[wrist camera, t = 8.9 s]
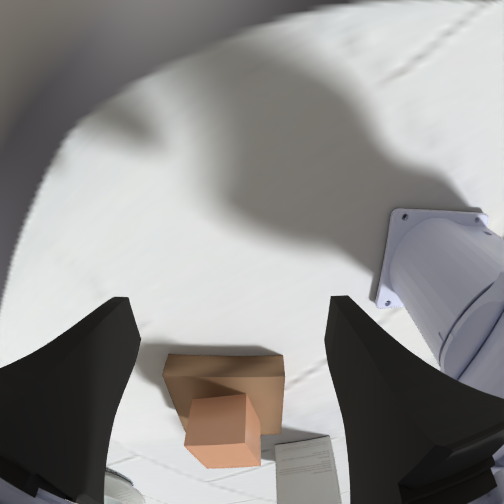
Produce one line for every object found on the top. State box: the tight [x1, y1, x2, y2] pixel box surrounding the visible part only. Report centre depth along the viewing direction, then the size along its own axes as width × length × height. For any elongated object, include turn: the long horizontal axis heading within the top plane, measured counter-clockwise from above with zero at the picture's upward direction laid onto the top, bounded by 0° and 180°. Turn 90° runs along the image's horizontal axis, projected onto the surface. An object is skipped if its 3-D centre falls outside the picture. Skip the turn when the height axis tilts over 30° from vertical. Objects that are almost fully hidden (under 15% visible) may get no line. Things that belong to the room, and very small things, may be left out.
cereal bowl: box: [104, 471, 146, 504], centre depth 41 cm, size 17×17×7 cm
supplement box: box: [275, 436, 342, 504], centre depth 27 cm, size 7×7×13 cm
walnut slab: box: [162, 354, 285, 435], centre depth 26 cm, size 10×10×3 cm
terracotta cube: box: [184, 394, 261, 468], centre depth 22 cm, size 5×5×5 cm
